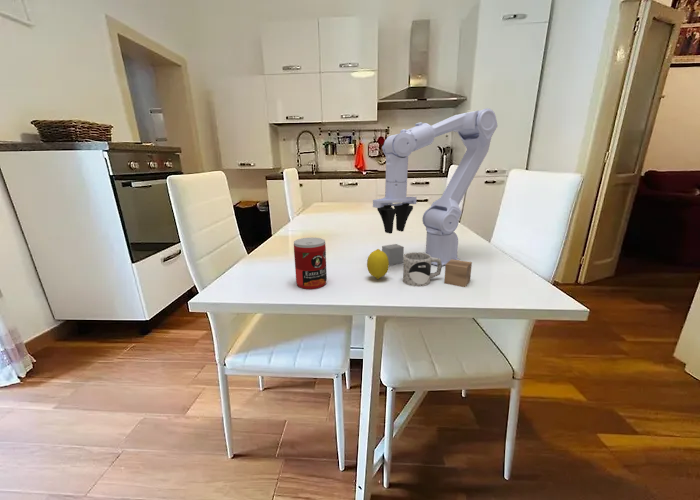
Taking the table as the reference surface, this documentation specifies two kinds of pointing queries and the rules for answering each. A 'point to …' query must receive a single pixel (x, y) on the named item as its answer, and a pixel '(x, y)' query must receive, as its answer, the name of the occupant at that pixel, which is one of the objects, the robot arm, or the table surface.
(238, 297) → the table surface
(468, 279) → the walnut block
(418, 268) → the mug
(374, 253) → the lemon
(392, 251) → the grey block
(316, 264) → the canned food
